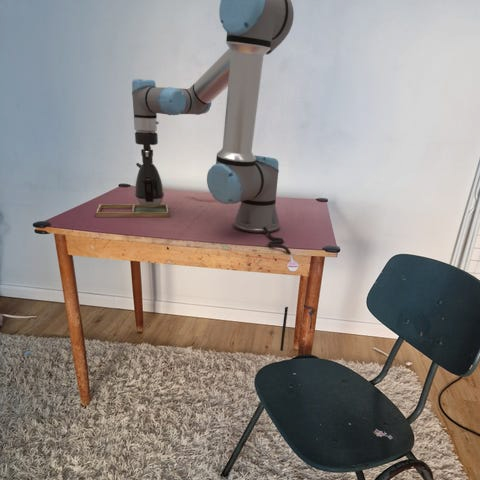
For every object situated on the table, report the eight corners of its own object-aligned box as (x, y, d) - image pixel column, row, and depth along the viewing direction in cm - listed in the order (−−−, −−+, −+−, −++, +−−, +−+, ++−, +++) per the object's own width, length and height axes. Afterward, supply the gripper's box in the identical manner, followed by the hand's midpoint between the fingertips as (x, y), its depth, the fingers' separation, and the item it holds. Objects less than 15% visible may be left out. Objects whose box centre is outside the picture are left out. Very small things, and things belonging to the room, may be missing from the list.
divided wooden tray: (168, 216, 150) (168, 212, 150) (96, 216, 146) (95, 212, 145) (167, 208, 162) (167, 204, 161) (100, 208, 157) (99, 204, 156)
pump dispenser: (148, 201, 160) (146, 158, 153) (169, 205, 156) (168, 162, 148) (129, 205, 152) (126, 161, 145) (151, 210, 148) (149, 165, 140)
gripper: (157, 135, 133) (160, 205, 143) (157, 129, 152) (159, 191, 163) (133, 134, 131) (138, 205, 142) (135, 128, 151) (139, 191, 162)
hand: (149, 198), depth 152 cm, fingers closed on pump dispenser, 10 cm apart
